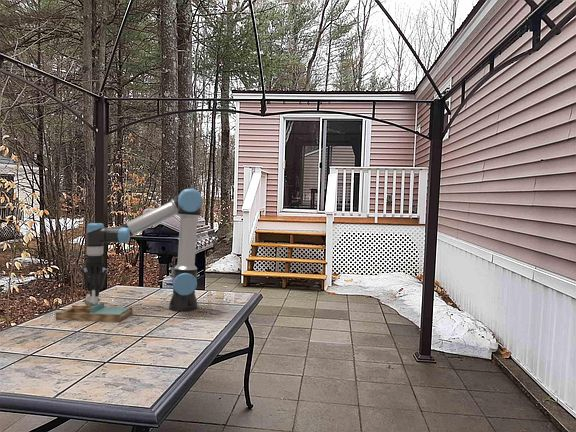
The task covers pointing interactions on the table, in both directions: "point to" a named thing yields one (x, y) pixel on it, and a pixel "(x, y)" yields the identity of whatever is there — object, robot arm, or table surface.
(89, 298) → the game die
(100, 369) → the table surface
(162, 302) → the table surface
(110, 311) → the cover
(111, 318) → the board
